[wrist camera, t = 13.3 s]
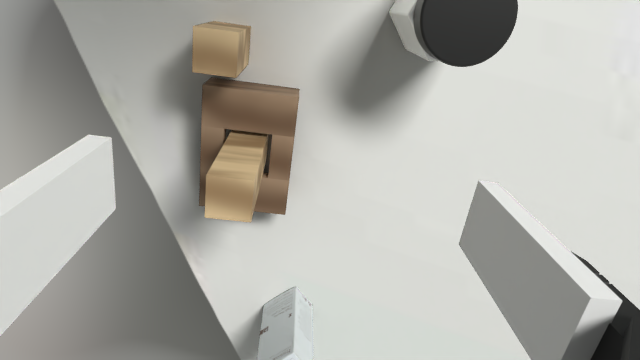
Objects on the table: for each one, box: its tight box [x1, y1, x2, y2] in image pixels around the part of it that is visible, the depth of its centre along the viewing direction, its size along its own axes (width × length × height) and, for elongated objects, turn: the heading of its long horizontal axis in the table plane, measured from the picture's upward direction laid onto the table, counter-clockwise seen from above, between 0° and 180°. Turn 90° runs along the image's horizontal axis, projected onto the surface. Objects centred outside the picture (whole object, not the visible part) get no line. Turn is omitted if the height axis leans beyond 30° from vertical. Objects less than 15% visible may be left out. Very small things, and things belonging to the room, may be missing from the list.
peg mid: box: [192, 21, 251, 78], centre depth 42 cm, size 4×4×9 cm
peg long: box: [205, 130, 269, 222], centre depth 43 cm, size 4×4×16 cm
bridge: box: [199, 77, 299, 215], centre depth 48 cm, size 14×10×4 cm
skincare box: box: [257, 287, 314, 360], centre depth 55 cm, size 6×4×12 cm
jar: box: [389, 0, 518, 67], centre depth 40 cm, size 9×8×12 cm
